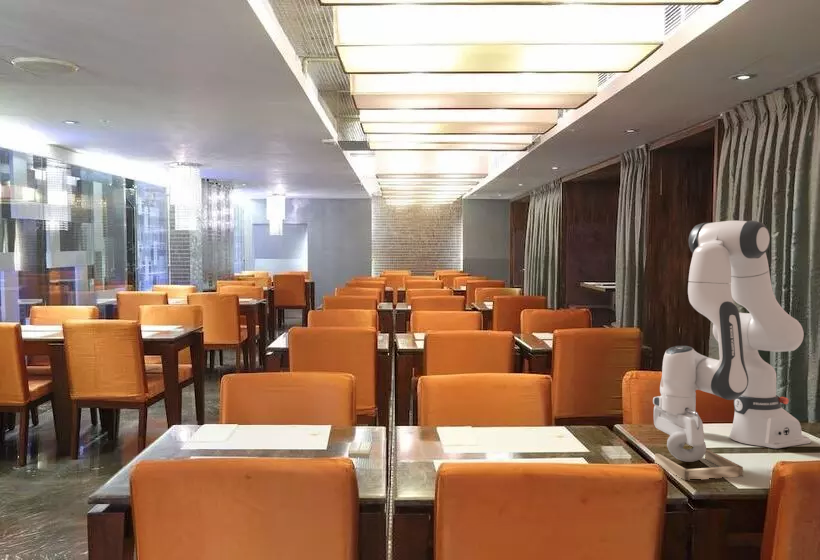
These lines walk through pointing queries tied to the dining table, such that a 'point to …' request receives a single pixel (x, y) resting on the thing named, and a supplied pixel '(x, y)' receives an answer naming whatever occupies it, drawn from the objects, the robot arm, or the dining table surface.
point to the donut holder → (724, 470)
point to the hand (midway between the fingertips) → (677, 452)
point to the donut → (681, 453)
